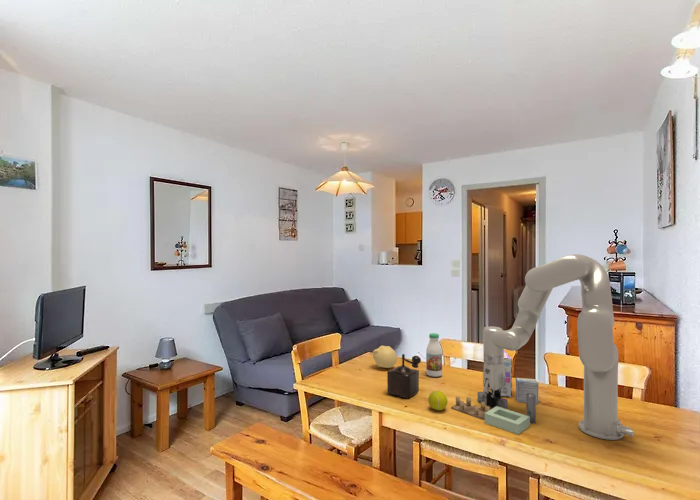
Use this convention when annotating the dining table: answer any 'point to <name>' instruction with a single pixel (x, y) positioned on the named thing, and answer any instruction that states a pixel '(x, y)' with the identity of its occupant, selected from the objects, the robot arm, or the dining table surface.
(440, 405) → the tennis ball
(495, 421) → the slot block
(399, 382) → the manual coffee grinder
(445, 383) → the dining table surface
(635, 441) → the dining table surface
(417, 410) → the dining table surface
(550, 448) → the dining table surface
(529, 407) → the pin
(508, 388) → the candy box
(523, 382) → the medicine box
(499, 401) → the spanner bar
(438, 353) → the milk bottle
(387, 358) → the beige rounded lump
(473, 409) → the peg rack
